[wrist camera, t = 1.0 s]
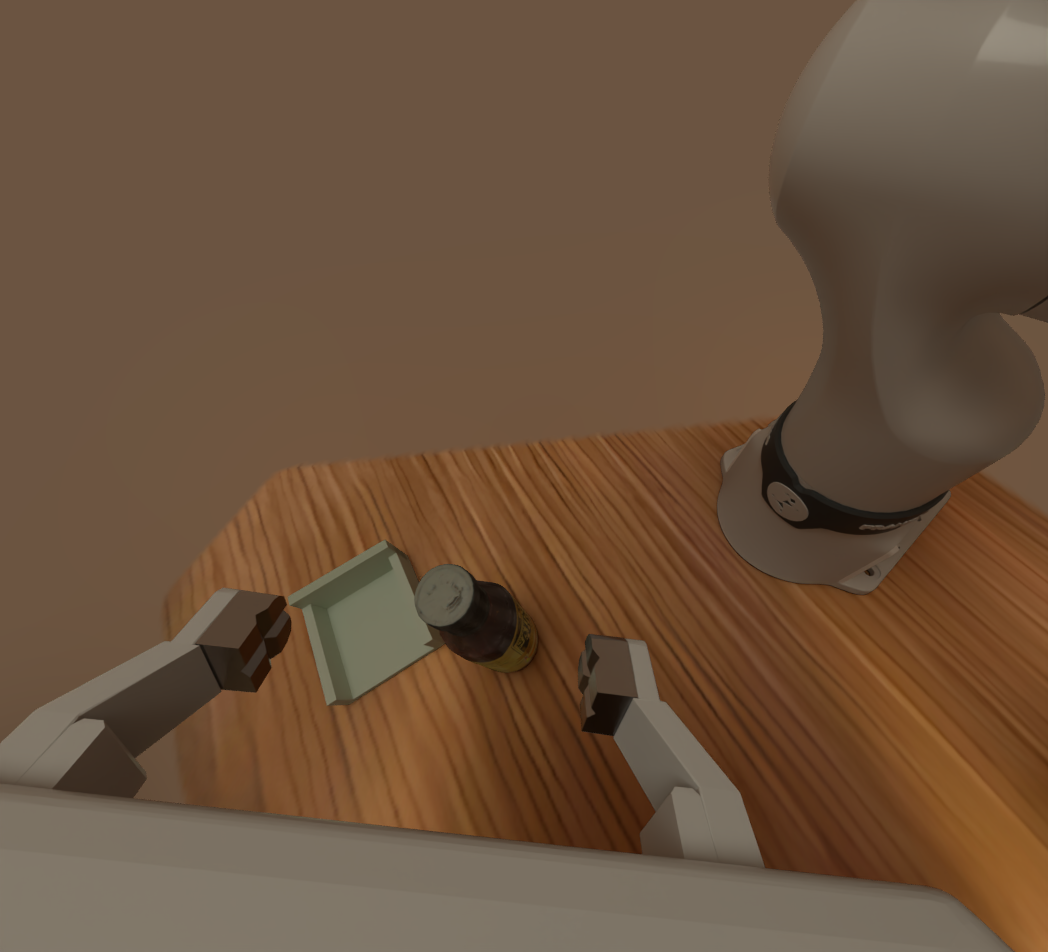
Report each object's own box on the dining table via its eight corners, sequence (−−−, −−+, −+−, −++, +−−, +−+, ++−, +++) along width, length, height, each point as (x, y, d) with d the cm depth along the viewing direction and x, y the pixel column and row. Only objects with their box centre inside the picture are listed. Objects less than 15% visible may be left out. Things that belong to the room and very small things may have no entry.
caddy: (407, 555, 49) (384, 539, 44) (445, 643, 44) (424, 636, 39) (320, 607, 48) (287, 597, 43) (348, 704, 42) (314, 705, 37)
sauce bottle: (549, 659, 41) (509, 632, 24) (492, 683, 41) (410, 675, 24) (526, 597, 44) (477, 535, 27) (473, 620, 44) (390, 572, 27)
